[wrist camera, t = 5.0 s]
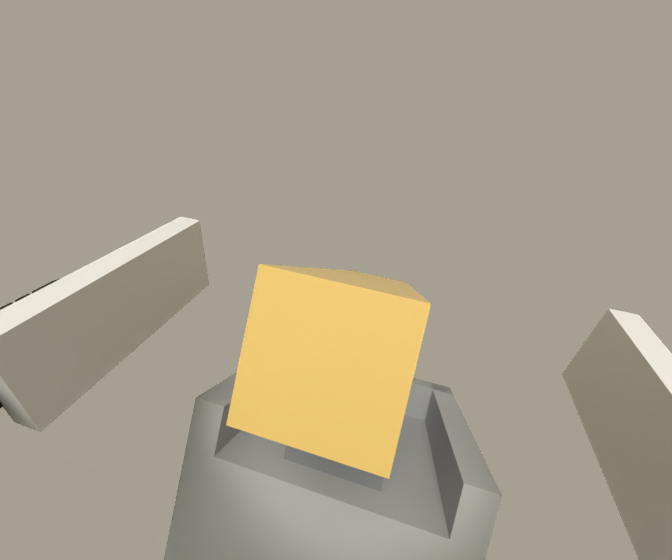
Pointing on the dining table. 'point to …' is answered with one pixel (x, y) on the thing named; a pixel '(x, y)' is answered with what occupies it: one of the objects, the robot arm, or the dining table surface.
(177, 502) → the grey tall block
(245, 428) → the yellow grey boxy piece
